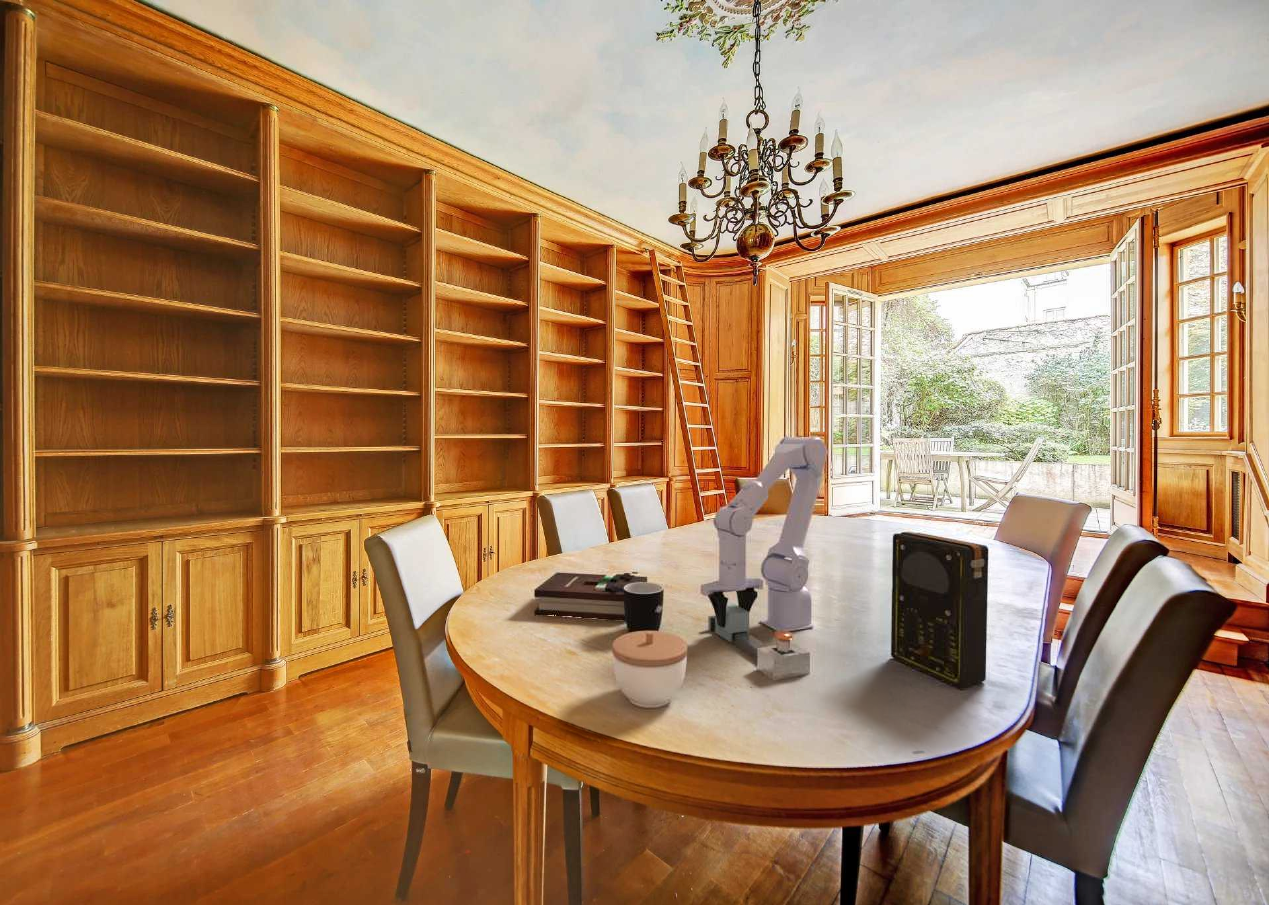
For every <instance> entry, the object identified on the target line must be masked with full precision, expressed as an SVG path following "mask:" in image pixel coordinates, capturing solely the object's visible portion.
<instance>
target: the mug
mask: <svg viewBox="0 0 1269 905" xmlns="http://www.w3.org/2000/svg"><path fill="white" fill-rule="evenodd" d="M623 597H624V611H625V619H626V621H625V624H626V628H627V631H628V633H631V632H637V631H660V628H661V623H662V618H663V617H662V616H663V611H664V598H665V597H664V587H663V586H662V585H661V584H658V583H656V582H649V581H647V582H638V583H631V584H628V585H626V586H624V589H623Z"/></svg>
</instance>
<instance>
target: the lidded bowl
mask: <svg viewBox="0 0 1269 905" xmlns="http://www.w3.org/2000/svg"><path fill="white" fill-rule="evenodd" d="M611 647H612V648H611V649H612V650H611V651H612V666H613V673H614V676H615V681H616V683H617V686H618V687H619V689H620V690H621V692H622V693H623V695H625V696H626V697H627V699H628V700H629V702H630V703H631V704H632V705H634V706H637V707H640V708H645V709H657V708H662V707H664V706H665V705H668V704H669V703H670V702H671V700H672V699H673V698H674V697H675V696H676V694H677V693H679V691H680V689H681V688H682V685H683V683H684V680H685V676H686V671H687V660H688V658H687V655H688V644H687V642H686V641H685V640H684V639H683V638H682V637H681V636H678V635H677V634H673V633H670V632H666V631H660V630H659V631H637V632H631V633H629V632H627V633H624V634H622V635H620V636H618V637H617V638H615V639H614V640H613V642H612V645H611Z"/></svg>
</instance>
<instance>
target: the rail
mask: <svg viewBox="0 0 1269 905" xmlns="http://www.w3.org/2000/svg"><path fill="white" fill-rule="evenodd" d="M707 617H708V625H707V626H708V629H707V630H708V631H709V632H713V631H714V632H715V615H710V616H707ZM731 643H733V644H734V645H735V646H737V647H738V648H739V649H741V650H742V651H744V652H745V653H747V654H748V655H750V656H751V657H753V658H754V659H756V660H757V648H763V647H768V645H767V644H766V643H765V642H762V641H761V640H759V639H758V638H755V637H754V636H753V635H751V634H750V633H749V634H748V633H746V632H745V631H744V632H737V633H732V642H731Z"/></svg>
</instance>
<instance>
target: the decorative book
mask: <svg viewBox="0 0 1269 905" xmlns="http://www.w3.org/2000/svg"><path fill="white" fill-rule="evenodd" d="M637 574H639V572H638V571H632V572H631V573H630V572H624V573H616V574H615V575H613V574H598V573H596V574H595V573H576V572H555V573H554V574H553V575H552V576H550V577H549V578H548V579H546V580H545V581H544V582H543V583H541V584H540V585H539V586H537V587H536V588H535V589H534V598H537V599H536V600H535V601H534V603H538V606H537V607H536V608H535V609H534V616H536V615H554V616H555V615H556V616H572V617H581V618H580V619H583V618H597V619H596V620H598V619H606V620H605V621H614V620H623V621H622V622H626V619H625V611H624V597H623V589H624V586H626V585H628V584H631V583H638V582H648V576H639V575H638V576H637Z"/></svg>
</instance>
